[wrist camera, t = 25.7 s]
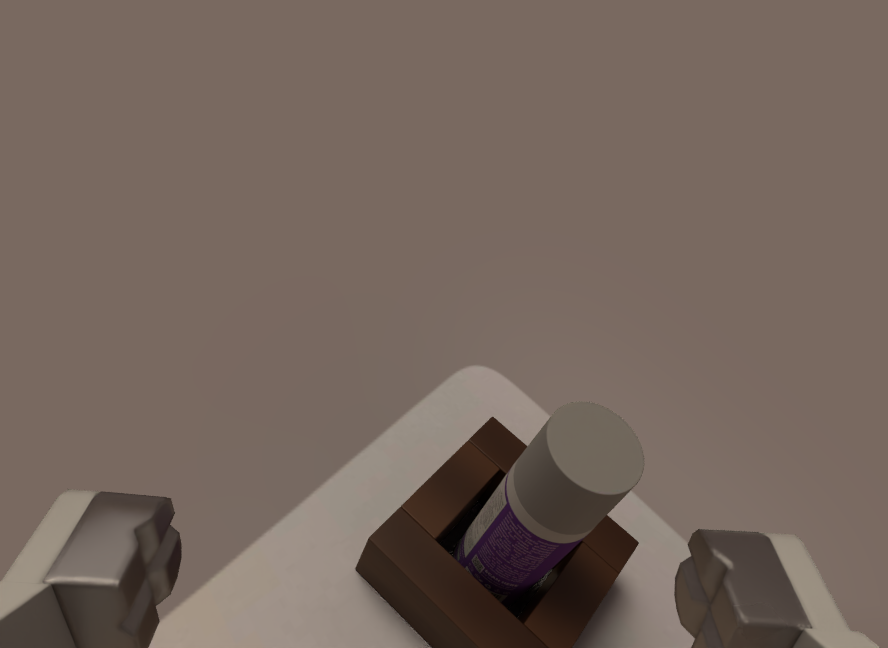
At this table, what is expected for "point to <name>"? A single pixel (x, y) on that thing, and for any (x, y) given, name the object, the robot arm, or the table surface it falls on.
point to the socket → (454, 589)
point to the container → (551, 498)
